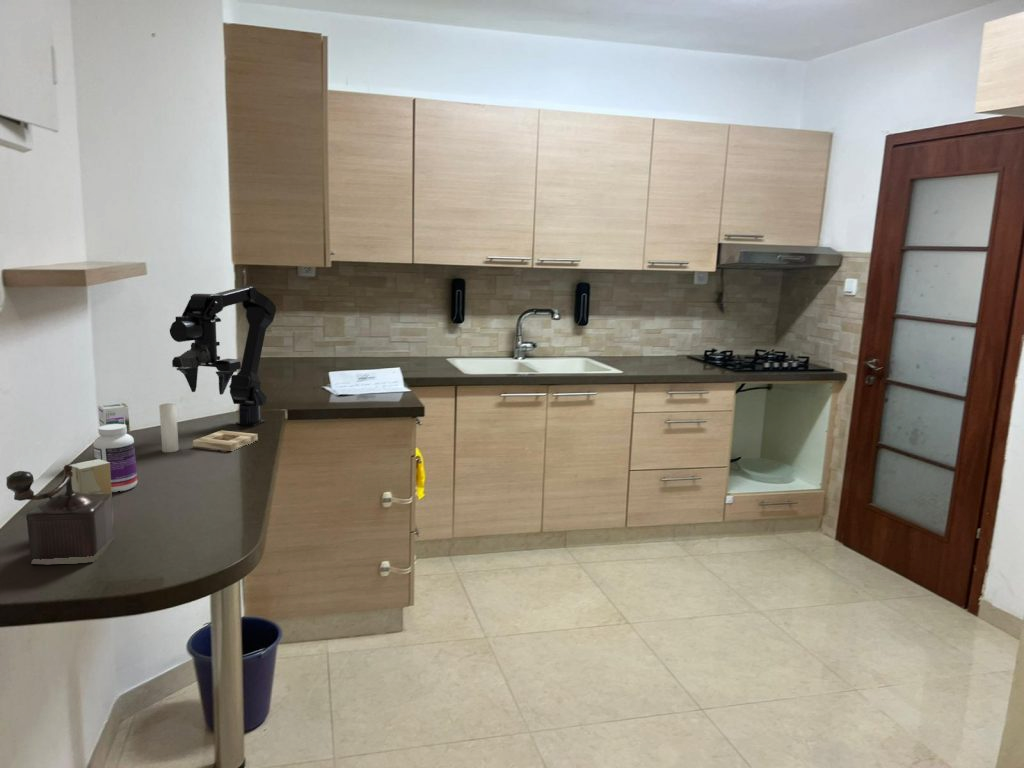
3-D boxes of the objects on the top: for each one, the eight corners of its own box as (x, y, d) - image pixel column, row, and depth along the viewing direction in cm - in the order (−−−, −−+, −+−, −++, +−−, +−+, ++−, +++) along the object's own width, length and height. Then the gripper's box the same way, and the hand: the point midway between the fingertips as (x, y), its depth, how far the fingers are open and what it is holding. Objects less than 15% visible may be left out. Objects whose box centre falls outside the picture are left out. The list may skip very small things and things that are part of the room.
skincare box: (82, 529, 140) (77, 469, 137) (70, 524, 142) (65, 465, 140) (115, 519, 145) (111, 461, 143) (103, 514, 147) (99, 457, 145)
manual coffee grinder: (52, 542, 133) (42, 449, 130) (116, 539, 135) (108, 447, 132) (10, 580, 118) (-2, 476, 115) (83, 576, 120) (73, 473, 117)
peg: (169, 447, 196) (166, 402, 193) (181, 449, 195) (179, 404, 192) (158, 451, 192) (155, 405, 189) (171, 453, 191) (168, 407, 189)
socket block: (221, 437, 207) (220, 430, 207) (257, 440, 205) (257, 434, 204) (193, 447, 196) (192, 440, 196) (231, 452, 193) (231, 444, 193)
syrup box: (107, 465, 179) (103, 408, 177) (102, 459, 184) (97, 404, 181) (132, 461, 183) (128, 405, 180) (126, 455, 187) (122, 401, 185)
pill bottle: (144, 482, 167) (140, 422, 164) (125, 494, 159) (120, 431, 156) (110, 481, 167) (105, 421, 165) (89, 493, 159) (84, 430, 157)
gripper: (156, 339, 197) (159, 395, 199) (215, 343, 192) (217, 400, 195) (184, 335, 207) (187, 388, 210) (241, 339, 203) (242, 393, 205)
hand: (207, 393), depth 205 cm, fingers open, 9 cm apart
